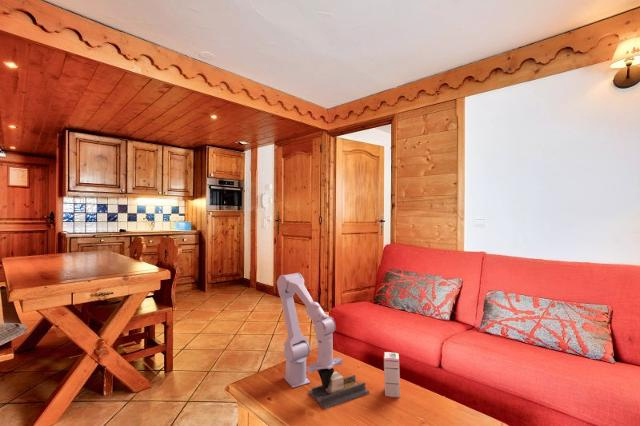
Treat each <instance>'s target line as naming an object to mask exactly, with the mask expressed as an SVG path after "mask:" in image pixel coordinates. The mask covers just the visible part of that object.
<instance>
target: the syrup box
mask: <svg viewBox="0 0 640 426" xmlns="http://www.w3.org/2000/svg"><path fill="white" fill-rule="evenodd" d="M383 353H384V354H383V369H384V370H383V372H384V373H383V374H384V375H383V377H384V378H383V379H384V396H385V397H389V398H390V397H391V398H400V397H401V381H400V380H401V378H400V377H401V375H400V374H401V373H400V371H401V370H400V356H399V355H400V353H398V352H393V351H391V352H390V351H386V352H385V351H384V352H383Z"/></svg>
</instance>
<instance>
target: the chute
mask: <svg viewBox="0 0 640 426" xmlns="http://www.w3.org/2000/svg"><path fill="white" fill-rule="evenodd" d="M343 380H344V389H341V390H338V391H335V392H332V393H328V392H327V391H326V389H325V388H324V387H323V386H322V384H320V385H316V386H314V387H311V389H309V390H308V394H309V396H311V397H312V399H314V401H316V402H317V404H318V405H319V407H321V408H322V409H324V410H326V409H330V408H333V407H335V406H338V405H341V404H344V403H346V402H349V401H352V400H355V399H358V398H360V397H363V396H364V397H365V396H367V395H369V394H370V390H369V389H367V388H366V382H360V383H359V382H358V381H357V380H356V375H355V374H352V375H349V376H346V377H343Z"/></svg>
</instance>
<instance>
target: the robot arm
mask: <svg viewBox="0 0 640 426" xmlns="http://www.w3.org/2000/svg"><path fill="white" fill-rule="evenodd" d="M276 286H277V290H278V295H279V297H280V301H281V307H282V312H283V316H284V322H285V326H286V331H287V338H286V340H285V342H284V343H283V345H284V349H283V354H284V357H285V359H286V361H285V376H284V375H283V378H284V380H285V381H286V383H288V384H289V385H290V386H291V388H297V387H301V386H304V385H307V384H310V383H311V381H310V380H309V379H308V377H307V373H308V374H312V372H313V373H314V372H317V373H318V375H319V378H320V381H321V385H322V386H323V387H324V388H325V389H327V388H328V386H329V382H330V379H331V376H332V374H333V373H334V372H335V369H334V368H333V367H334V366H338V365H340V366H343V363H344V362H343V361H344V359H343V358H342V357H336V358H335V357H334V355H333V351H334V350H333V349H334V347H333V343H334V342H333V341H334V340H333V339H334V338H333V336H334V335H333V333H334V332H335V331H336V328H337V326H336V325H337V324H336V322H335V320H334V318H333V317H332V316H329V315H328V314H326V312H325V311H324V309H323V308H322V307H321V305H320V303H319V302H317V301H314V300H313V297H312V296H311V295H310V293H309V291H308V289H307V286H306V285H305V278H304V277H303V275H302V274H301V273H300V272H295V273H290V274H289V273H288V274H281V275H279V276H278V278H277V280H276ZM295 295H297V296H298V298H299V299H300V300H301V301H302V303H303V305H305V307H306V308H305V311H306V314H307V315H308V317H309V318H310V320H311V321H312V323H313V325H314V326H313V331H314V333H315V337H316V338H315V339H316V340H317V361H315V362H313V363H312V364H310V365H309V364H308V365H307V359H308V356H309V355H310V354H311V347H310V344H309V342H308V339H307V337H306V336H305V335H304V334H302V333H301V329H300V324H299V317H298V315H297V314H298V313H297V310H296V304H295V300H294V296H295Z"/></svg>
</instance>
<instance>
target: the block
mask: <svg viewBox="0 0 640 426" xmlns="http://www.w3.org/2000/svg"><path fill="white" fill-rule="evenodd" d="M343 378H344V376H343V375H342V374H341V373H339V372H337V370H336V371H334V373H333V374H332V376H331V379H330V382H329V386H328V388H327V389H326V391H327V392H328V393H332V392H335V391H338V390H341V389H344V380H343Z"/></svg>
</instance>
